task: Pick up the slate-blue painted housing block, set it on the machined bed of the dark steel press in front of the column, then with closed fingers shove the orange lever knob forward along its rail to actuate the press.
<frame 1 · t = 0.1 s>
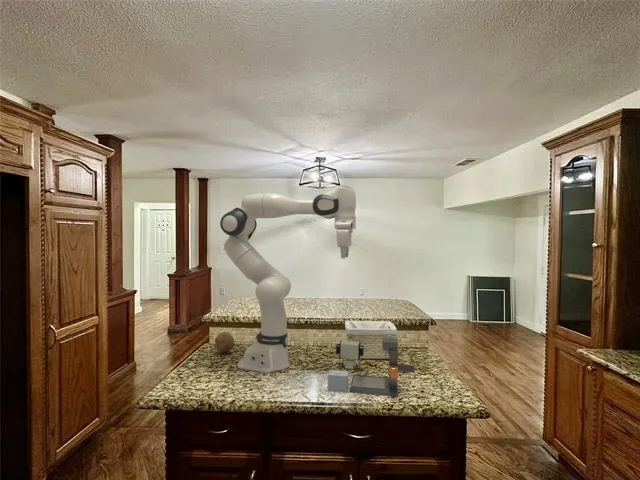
hand: (344, 257, 150), 48 cm above the counter, fingers open, 8 cm apart
natural sponge: (224, 353, 172), on the counter
press: (374, 386, 136), on the counter
storage basket: (369, 355, 173), on the counter
pneumatic valve: (349, 367, 155), on the counter
lever: (393, 371, 127), point 9 cm above the counter, slide at 0.0 cm
housing: (338, 389, 133), on the counter
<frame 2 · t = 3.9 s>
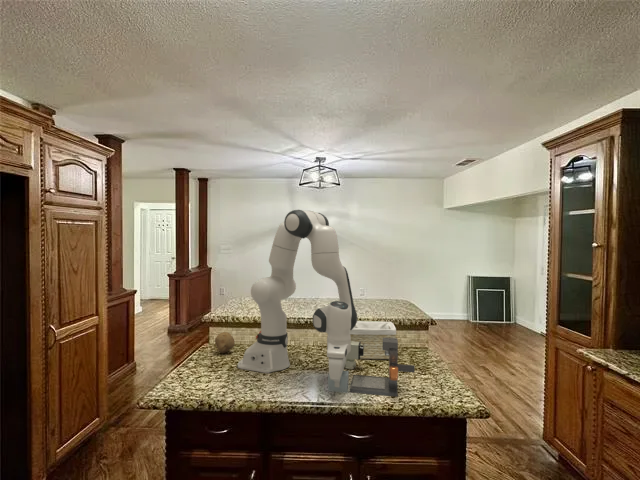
hand: (338, 383, 133), 2 cm above the counter, fingers closed on housing, 5 cm apart
housing: (338, 388, 133), on the counter, touching gripper
everything else where it was.
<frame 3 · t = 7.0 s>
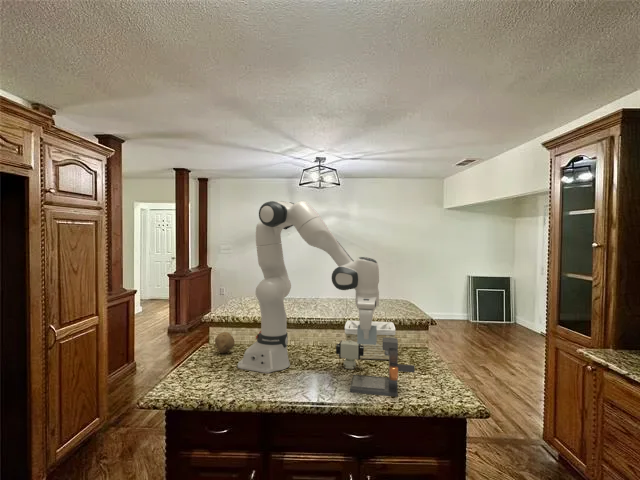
hand: (366, 336, 136), 19 cm above the counter, fingers closed on housing, 5 cm apart
housing: (367, 342, 136), point 17 cm above the counter, touching gripper
everything else where it was.
when the fingers open (5 cm above the counter, at t = 9.4 s): housing stays where it is, resting on press.
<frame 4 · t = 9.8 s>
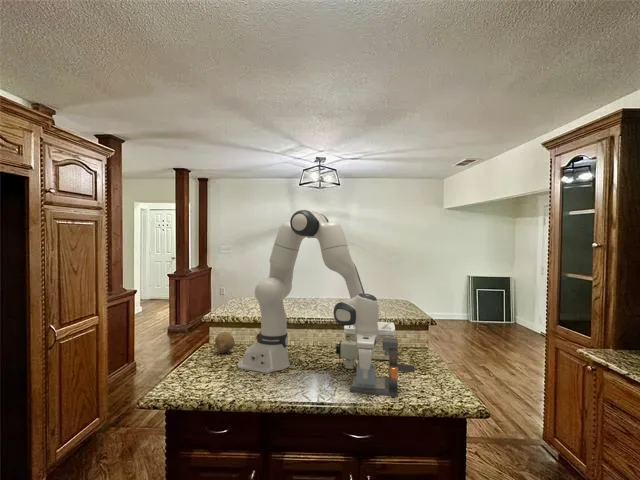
hand: (366, 373, 136), 5 cm above the counter, fingers open, 8 cm apart
housing: (366, 381, 136), point 1 cm above the counter, touching press
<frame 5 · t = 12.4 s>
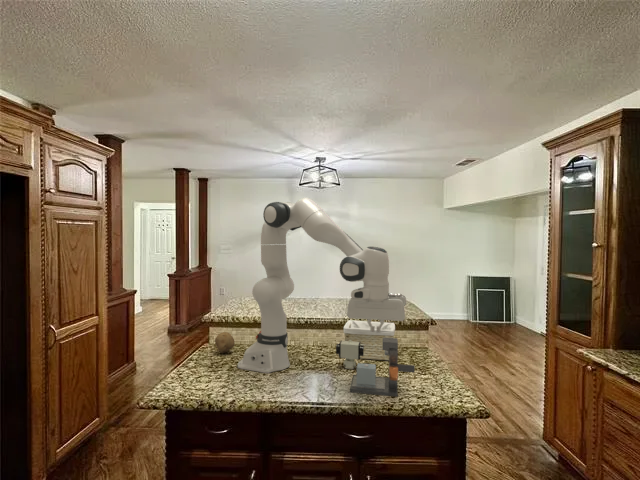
hand: (375, 331, 127), 23 cm above the counter, fingers closed
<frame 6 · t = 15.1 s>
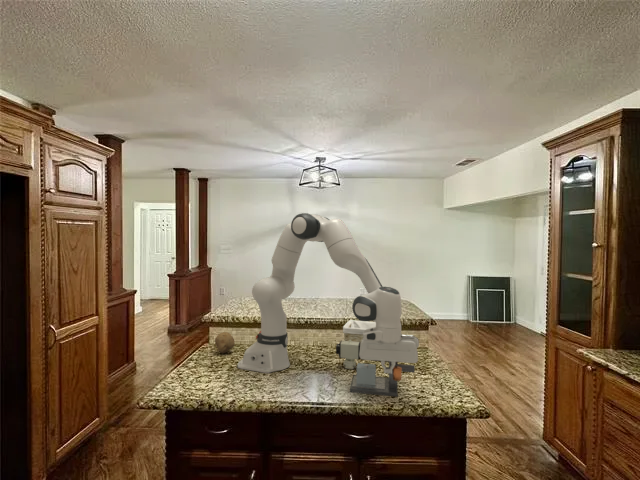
hand: (388, 373, 126), 9 cm above the counter, fingers closed
lever: (397, 371, 127), point 9 cm above the counter, slide at 1.2 cm, touching gripper
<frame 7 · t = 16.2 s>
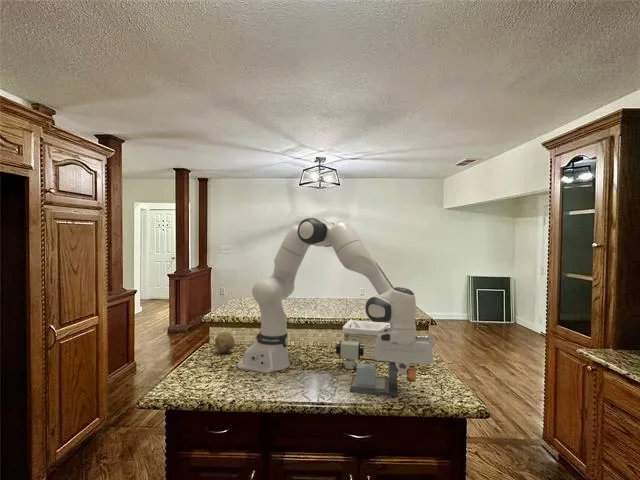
hand: (402, 374, 125), 9 cm above the counter, fingers closed
lever: (411, 372, 126), point 9 cm above the counter, slide at 6.0 cm, touching gripper
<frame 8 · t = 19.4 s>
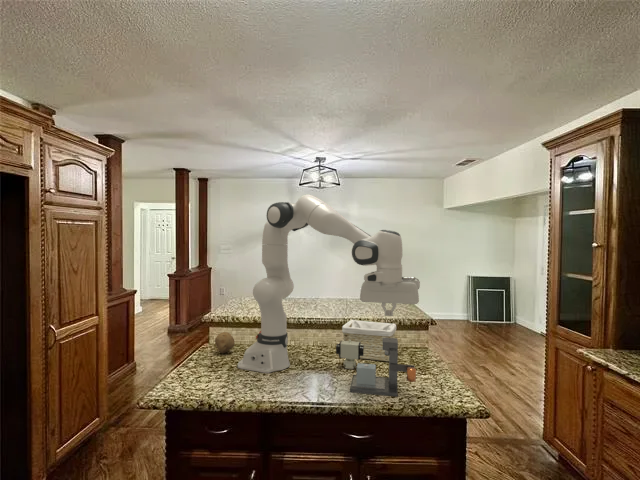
hand: (388, 315, 126), 29 cm above the counter, fingers closed
lever: (411, 372, 126), point 9 cm above the counter, slide at 6.0 cm
at the end: housing inside the target area on the press (0.1 cm from its centre), point 1.5 cm above the press's base; lever slide at 6.0 cm; the gripper is holding nothing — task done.
